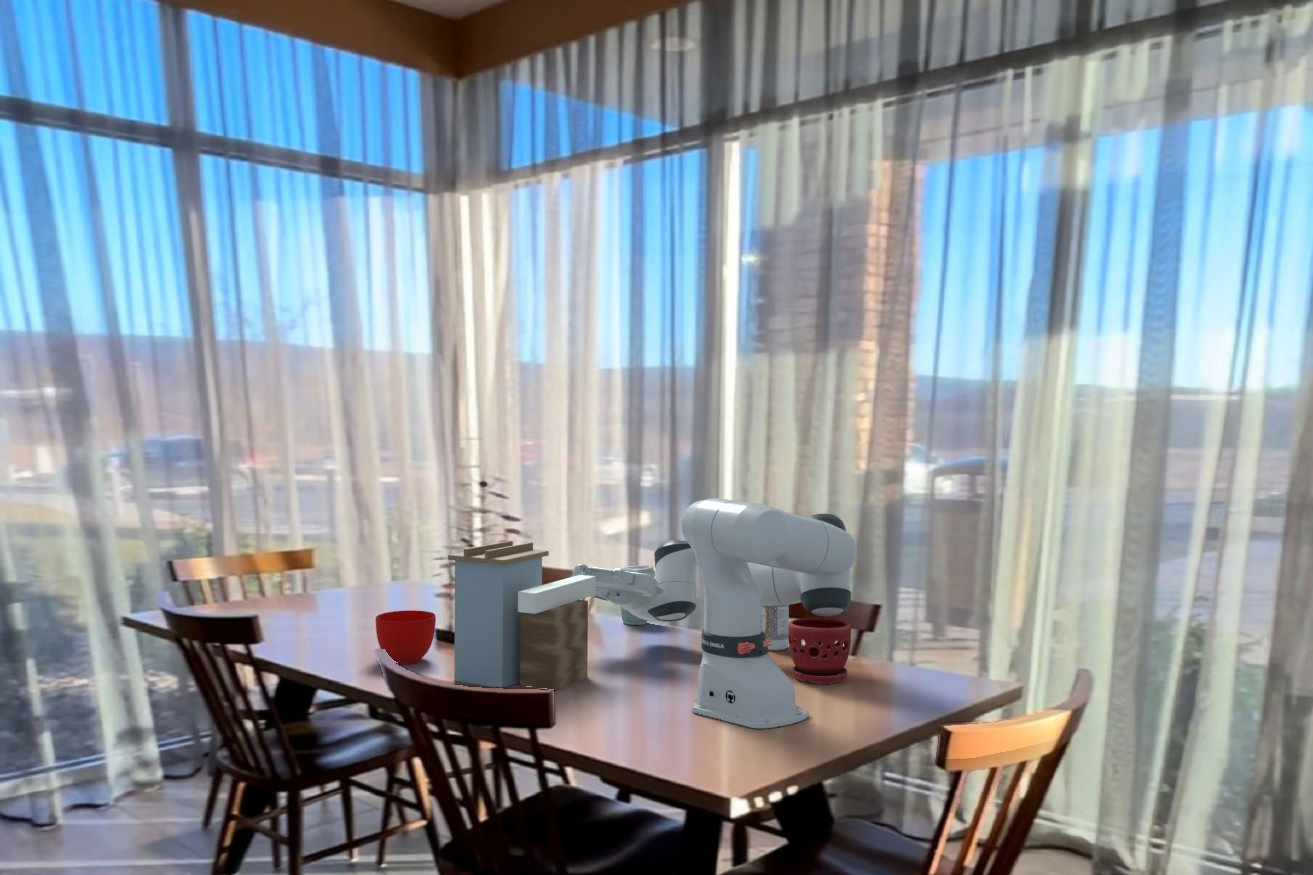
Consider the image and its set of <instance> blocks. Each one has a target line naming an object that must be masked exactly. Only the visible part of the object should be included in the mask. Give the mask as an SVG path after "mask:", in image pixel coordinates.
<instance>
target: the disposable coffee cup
mask: <svg viewBox="0 0 1313 875" xmlns="http://www.w3.org/2000/svg"><path fill="white" fill-rule="evenodd" d="M623 568H630V569H633V570H635V571H636V572H638V573H643V574H648V575H651V576H652V577H653V578H656V570H654V566H653V565H632V566H622V567H620V568H619V567H618V569H623ZM619 607H620V606H619ZM620 615H621V616H620V617H621V620H622V623H623V624H625V625H631V626H634V625H638V626H641V625H645V624H647V622H648V620H644V619H641V618H639V617H636V616H635V615H633V614H631V613H630V612H629V611H628V610H625V609H623V608H621V607H620Z"/></svg>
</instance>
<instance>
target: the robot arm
mask: <svg viewBox="0 0 1313 875" xmlns="http://www.w3.org/2000/svg"><path fill="white" fill-rule="evenodd" d="M681 531H682V536H683V537H684V539H685V540H678V539H677V540H676V539H670V540H665V541H663V542H662V543H661V544H660V545H659V546H658V547H657V548H656V550H655V551H654V554H653V555H654V567H655V577H654V578H653V577H652V576H651V575H648V574H643V573H638V572H636V571H635V570H633V569H630V568H623V569H619V568H615V569H611V568H602V567H597V566H588V565H587V564H582V563H580V564H576V565H575V566H574V568H573V571H572V575H571V577H574V576H577V575H587V576H596V595H593V596H592V597H593V598H597V599H599V600H603V601H606V602H609V603H612V604H614V606H618V607H621V608H623V609H625V610H628V611H629V612H630V613H631V614H633V615H635V616H636V617H639V618H641V619H644V620H647V622H657V621H659V622H678V621H683V620H684V619H686V618H687V617H688V616H690V615H691V614H692V613H693V612H694V611H695V610H696V608H697V566H698V570H699V571H698V572H699V574H700V575H699V576H700V577H701V583H702V591H703V629H702V630H701V637H700V642H701V644H700V645H701V647H700V648H701V650H702V651H703V653H702V659H701V662H700V666H699V669H698V678H697V688H696V695H695V696H696V697H695V699H694V702H693V705H692V708H691V709H692V710H691V712H692V713H694V714H697V713H698V715H701V714H702V716H706V717H708V716H709V718H712V717H713V719H716V718H717V720H720V719H721V721H725V722H727V723H732V724H734V725H735V724H736V725H739V726H744V727H748V728H751V729H770V728H771V729H772V728H778V726H779V727H784V726H789V725H792V724H795V723H798V722H801V721H803V720H805V719H807V718H808V717H809V710H808V709H806V708H803V707H801V706H799V705H797V704H796V691H795V687H794V683H793V682H792V680H791V679H790V678H789V677H788V676H787V674H786V673H785V672H784V671H783V670H782V668H781V667H780V666H779V665H778V664H777V662H776V661H775V660H774V658H773V657H771V655H770V654H769V651H770V650H769V649H768V646H772V644H768V643H770V642H772V641H773V640H766V638H765V634H764V632H763V631H762V606H781V605H788V604H789V605H794V604H798V603H801V604H802V606H803V608H804V609H805V610H806V611H807V613H809V614H811V615H813V616H817V617H821V618H824V617H825V618H826V617H827V618H830V617H834V616H838V615H839V614H843V613H844V612H846V611H847V610H848V609H849V607H850V605H851V602H852V591H851V568H852V567H853V566H854V564H855V562H856V559H857V556H858V555H857V554H858V548H857V544H856V541H855V539H854V537H853V536H852V535H851V534H850V533H849V532H848V531H847V529H846V525H845V524H844V521H843V520H842V519H841V518H840V517H838V516H837V515H835V514H831V513H822V512H821V513H815V514H810V515H807V516H805V515H804V516H803V515H799V514H795V513H791V512H786V511H784V510H782V509H779V508H775V507H772V506H769V505H766V504H763V503H756V502H749V501H743V500H735V499H734V500H733V499H726V498H717V497H713V498H706V499H701V500H697V501H695V502H693V503H692V504H690V505H689V506H688V507H687V509H686V510H685V512H684V514H683V516H682V520H681ZM621 608H620V609H621ZM767 644H768V645H767Z"/></svg>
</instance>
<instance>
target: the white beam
mask: <svg viewBox="0 0 1313 875" xmlns="http://www.w3.org/2000/svg"><path fill="white" fill-rule="evenodd" d="M593 595H596V576H587V575H577V576H574V577H572V576H570V577H566V578H564V579H560V580H556V581H553V582H548V583H545V584H542V585H541V586H537V587H533V588H530V589H526V590H523V591H519V592H518V612H523V613H532V614H536V613H539V612H543V611H546V610H549V609H552V608H555V607H558V606H561V605H565V604H568V603H571V602H574V601H577V600H584V599H586V598H589V597H593Z"/></svg>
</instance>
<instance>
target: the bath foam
mask: <svg viewBox="0 0 1313 875" xmlns="http://www.w3.org/2000/svg"><path fill="white" fill-rule="evenodd" d="M789 606H790V604H788V605H781V606H762V631H763V632H764V634H765V638H766V640H773V641H772V642H770V643H768V644H772V646H768V649H769V651H784V650H786V649H788V648H789V641H788V623H789V622H790V621H789V617H790V615H789V610H790V609H789V608H790V607H789ZM768 644H767V645H768Z"/></svg>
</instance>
